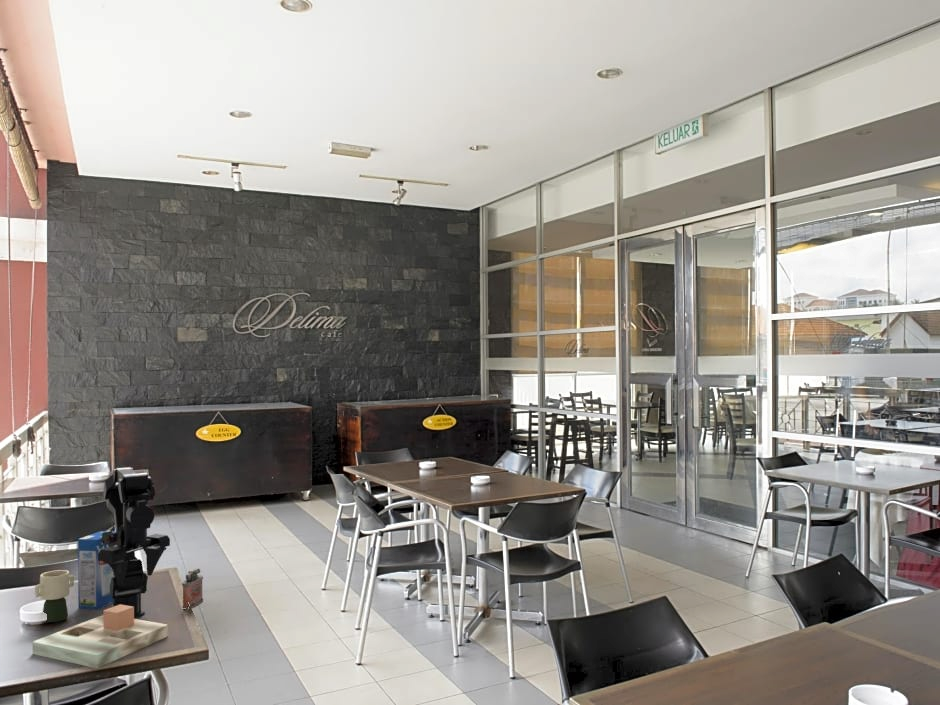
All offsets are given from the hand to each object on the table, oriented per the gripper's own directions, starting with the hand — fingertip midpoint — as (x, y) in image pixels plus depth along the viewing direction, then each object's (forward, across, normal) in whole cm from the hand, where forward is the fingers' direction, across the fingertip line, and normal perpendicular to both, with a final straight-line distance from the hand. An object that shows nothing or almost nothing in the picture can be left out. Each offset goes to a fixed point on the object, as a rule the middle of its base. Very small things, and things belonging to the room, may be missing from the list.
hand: (135, 580), depth 193 cm
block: (+10, +6, +1) cm, 12 cm away
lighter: (+13, -20, 0) cm, 24 cm away
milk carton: (+13, -11, -27) cm, 32 cm away
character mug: (+13, +4, -26) cm, 30 cm away
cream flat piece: (+13, +11, +1) cm, 17 cm away
